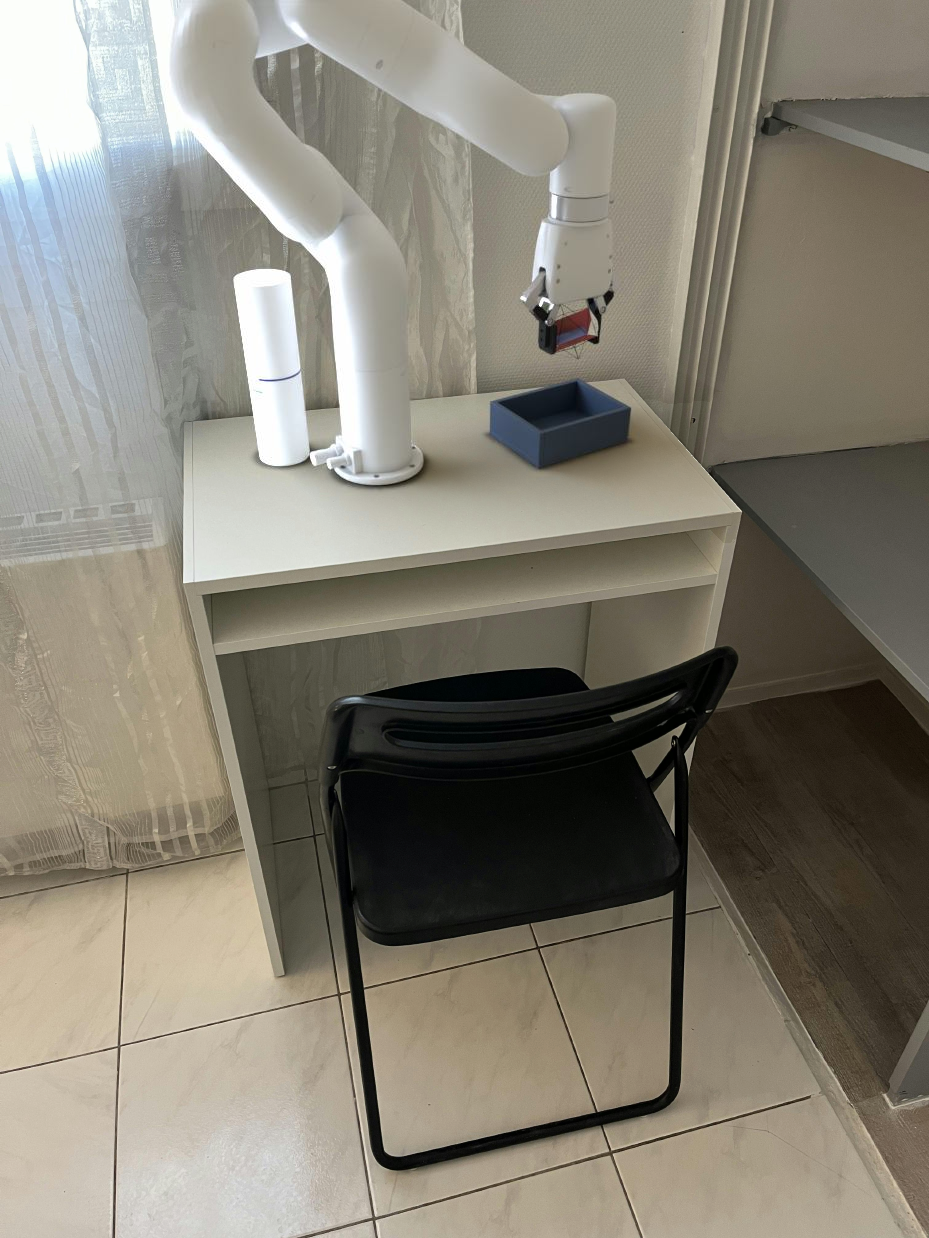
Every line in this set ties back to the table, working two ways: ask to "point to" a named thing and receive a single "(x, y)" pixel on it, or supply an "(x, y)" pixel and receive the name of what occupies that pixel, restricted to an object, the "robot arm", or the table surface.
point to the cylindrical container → (273, 365)
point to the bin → (559, 422)
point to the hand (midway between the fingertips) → (568, 345)
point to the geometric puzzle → (575, 329)
